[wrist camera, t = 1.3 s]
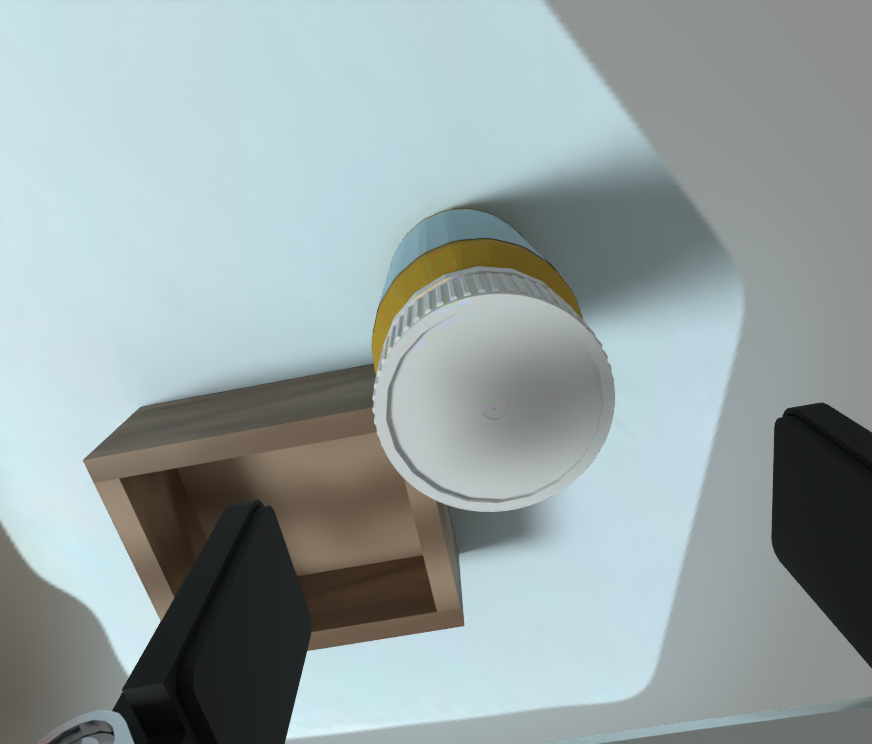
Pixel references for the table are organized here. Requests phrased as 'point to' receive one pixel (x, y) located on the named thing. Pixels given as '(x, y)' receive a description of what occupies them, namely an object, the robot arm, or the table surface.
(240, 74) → the table surface
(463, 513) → the table surface
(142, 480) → the brown box
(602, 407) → the bottle
